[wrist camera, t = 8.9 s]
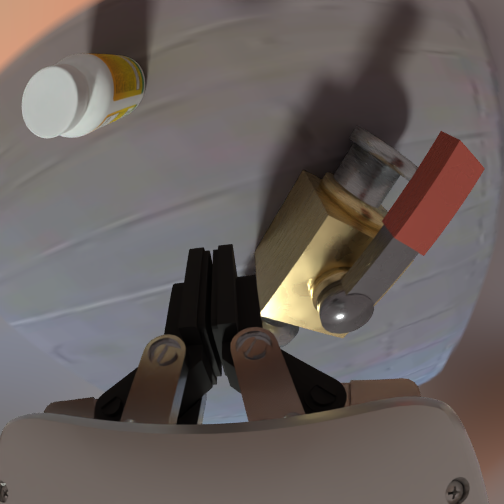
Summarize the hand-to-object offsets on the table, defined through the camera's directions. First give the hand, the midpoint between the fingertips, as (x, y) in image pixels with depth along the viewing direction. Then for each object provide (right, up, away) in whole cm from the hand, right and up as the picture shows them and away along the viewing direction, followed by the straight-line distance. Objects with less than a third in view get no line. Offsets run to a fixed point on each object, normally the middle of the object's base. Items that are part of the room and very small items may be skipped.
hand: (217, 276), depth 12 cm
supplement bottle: (-9, +14, +7) cm, 18 cm away
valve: (+7, +3, +15) cm, 17 cm away
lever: (+10, +2, +5) cm, 11 cm away
